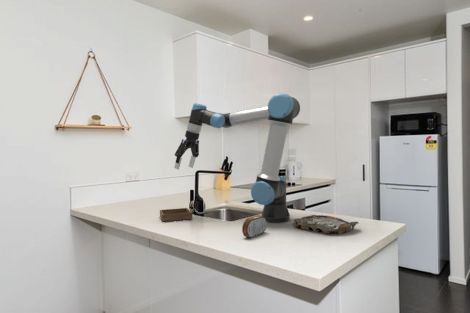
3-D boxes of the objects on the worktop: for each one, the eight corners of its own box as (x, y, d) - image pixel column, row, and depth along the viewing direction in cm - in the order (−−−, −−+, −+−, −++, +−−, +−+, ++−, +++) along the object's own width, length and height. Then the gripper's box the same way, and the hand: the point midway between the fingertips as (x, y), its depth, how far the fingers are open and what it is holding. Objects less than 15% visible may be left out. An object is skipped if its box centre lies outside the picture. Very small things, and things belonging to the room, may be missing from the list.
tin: (262, 231, 152) (261, 213, 152) (267, 232, 150) (267, 214, 150) (241, 239, 140) (241, 219, 140) (247, 240, 138) (247, 220, 138)
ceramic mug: (188, 212, 202) (188, 199, 202) (200, 210, 207) (200, 198, 206) (195, 215, 193) (195, 202, 193) (208, 213, 198) (208, 200, 197)
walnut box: (192, 220, 179) (192, 212, 179) (162, 222, 174) (162, 215, 174) (187, 214, 194) (187, 207, 194) (160, 216, 189) (159, 209, 189)
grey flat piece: (283, 228, 159) (282, 217, 159) (308, 220, 174) (308, 210, 174) (340, 239, 137) (339, 226, 137) (364, 229, 152) (363, 217, 152)
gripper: (199, 130, 195) (190, 164, 198) (174, 128, 172) (164, 167, 176) (210, 134, 192) (201, 168, 195) (185, 132, 169) (175, 171, 173)
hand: (183, 168), depth 185 cm, fingers open, 13 cm apart
